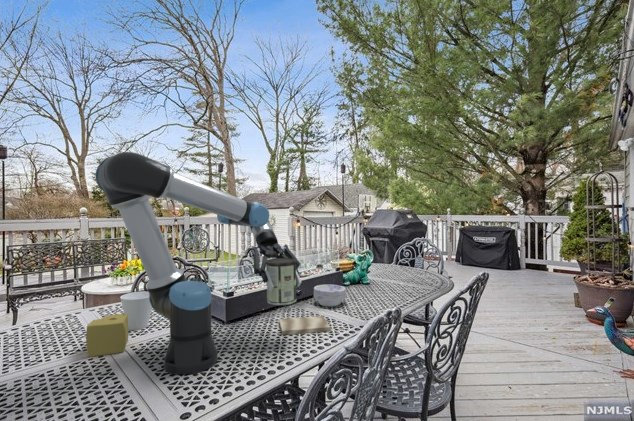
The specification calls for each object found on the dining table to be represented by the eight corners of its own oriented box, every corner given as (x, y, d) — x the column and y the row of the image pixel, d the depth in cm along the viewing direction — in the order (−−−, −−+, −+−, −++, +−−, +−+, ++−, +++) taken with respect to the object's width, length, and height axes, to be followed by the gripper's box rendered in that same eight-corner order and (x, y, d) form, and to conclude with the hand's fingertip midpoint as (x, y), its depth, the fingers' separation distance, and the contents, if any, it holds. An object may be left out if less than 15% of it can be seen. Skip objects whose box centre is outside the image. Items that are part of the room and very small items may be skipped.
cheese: (94, 345, 116) (93, 316, 116) (130, 340, 120) (129, 312, 120) (85, 358, 106) (85, 326, 106) (125, 353, 110) (124, 322, 110)
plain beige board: (282, 334, 125) (282, 330, 125) (279, 322, 137) (279, 319, 137) (330, 331, 128) (330, 327, 128) (322, 319, 141) (322, 315, 141)
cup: (123, 335, 125) (123, 301, 125) (117, 326, 134) (117, 294, 134) (158, 327, 132) (158, 295, 132) (150, 319, 142) (150, 289, 141)
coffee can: (279, 295, 126) (278, 257, 125) (302, 299, 120) (302, 259, 120) (260, 302, 117) (259, 261, 117) (284, 307, 111) (283, 264, 111)
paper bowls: (345, 299, 170) (345, 283, 170) (345, 309, 155) (345, 291, 155) (315, 299, 172) (315, 283, 171) (311, 308, 156) (311, 291, 156)
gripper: (287, 240, 137) (309, 288, 125) (233, 245, 124) (251, 298, 112) (294, 228, 133) (317, 276, 120) (238, 231, 120) (258, 285, 107)
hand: (285, 286), depth 116 cm, fingers closed on coffee can, 10 cm apart
